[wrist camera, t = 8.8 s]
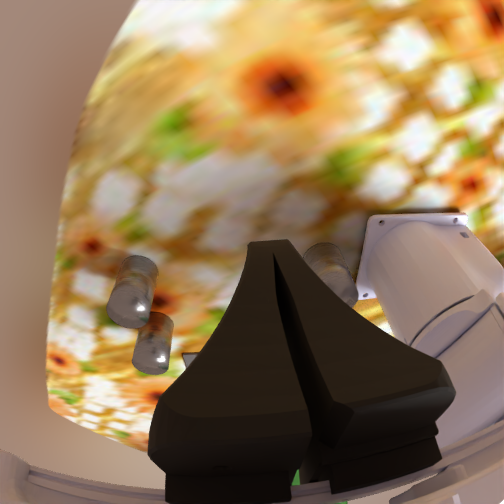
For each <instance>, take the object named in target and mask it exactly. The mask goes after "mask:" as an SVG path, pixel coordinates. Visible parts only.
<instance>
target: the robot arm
mask: <svg viewBox="0 0 504 504" xmlns="http://www.w3.org/2000/svg"><path fill="white" fill-rule="evenodd" d="M454 218H455V219H454ZM381 220H383V221H382V223H379V222H380V221H381ZM467 221H468V216H467V215H466V214H465V213H420V214H387V215H373V216H371V217H370V218H369V219H368V223H367V229H366V234H365V240H364V245H363V250H362V256H361V261H360V266H359V271H358V275H357V280H356V288H357V290H358V293H359V297H358V300H361V299H369V298H377V299H378V301H379V303H380V305H381V308H382V310H383V312H384V314H385V316H386V318H387V320H388V323H389V325H390V327H391V329H392V331H393V334H394V336H395V338H394V337H393V336H391V335H389V334H388V333H386V332H384V331H383V330H381V329H380V328H378V327H377V326H376V325H374V324H373V323H371V322H370V321H368V320H367V319H365V318H364V317H363V316H361V315H360V314H359V313H357V312H356V311H355V310H354V309H352V308H351V307H350V306H349V305H348V304H346V303H345V302H344V301H343V300H342V299H341V298H340V297H339V296H338V295H336V294H335V293H334V292H333V291H332V290H331V289H330V288H329V287H328V286H327V285H326V284H325V283H324V282H323V281H322V280H321V278H320V277H319V276H318V275H317V274H316V273H315V272H314V271H313V270H312V269H311V267H310V266H309V265H308V264H307V263H306V262H305V260H304V259H303V258H302V257H301V255H300V254H299V253H298V252H297V250H296V249H295V248H294V246H293V245H292V244H291V242H290V241H289V240H288V239H286V240H271V241H257V242H250V243H249V244H248V251H247V257H246V262H245V265H244V269H243V272H242V275H241V278H240V281H239V283H238V286H237V288H236V291H235V293H234V295H233V297H232V300H231V302H230V304H229V306H228V308H227V310H226V312H225V314H224V316H223V317H222V319H221V321H220V323H219V324H218V326H217V327H216V329H215V331H214V332H213V334H212V335H211V337H210V338H209V340H208V341H207V343H206V344H205V346H204V347H203V348H202V350H201V351H200V352H199V353H198V355H197V356H196V357H195V358H194V360H193V361H192V362H191V363H190V365H189V366H188V367H187V368H186V370H185V371H184V372H183V373H182V374H181V375H180V376H179V377H178V378H177V379H176V380H175V381H174V383H173V384H172V385H171V386H170V387H169V388H168V389H167V390H166V391H165V392H164V393H163V394H162V395H161V396H160V397H159V400H158V403H157V405H156V408H155V411H154V414H153V418H152V422H151V426H150V431H149V441H148V456H149V457H150V459H151V460H152V461H153V462H154V463H155V464H156V465H157V466H158V467H159V468H160V469H161V470H163V471H164V472H165V473H166V480H165V490H163V489H151V488H141V487H132V486H125V485H117V484H111V483H105V482H99V481H93V480H88V479H83V478H79V477H73V476H70V475H65V474H61V473H57V472H53V471H49V470H46V469H42V468H38V467H35V466H32V465H29V463H28V462H26V461H25V460H23V459H21V458H20V457H18V456H16V455H14V454H12V453H10V452H7V451H4V450H1V449H0V504H336V503H341V502H345V501H349V500H354V499H358V498H362V497H366V496H370V495H374V494H377V493H380V492H384V491H387V490H391V489H394V488H397V487H400V486H403V485H406V484H409V483H412V482H415V481H418V480H421V479H423V478H426V477H429V476H431V475H434V474H436V473H438V474H437V475H436V476H434V477H432V478H429V479H427V480H425V481H423V482H420V483H418V484H416V485H414V486H412V487H411V488H410V489H409V490H408V491H406V492H404V493H402V494H400V495H398V496H396V497H393V498H391V499H390V500H389V504H504V268H503V267H502V265H501V264H500V263H499V262H498V260H497V259H496V258H495V257H494V256H493V255H492V254H491V252H490V251H489V250H488V249H487V248H486V247H485V246H484V245H483V244H482V242H481V241H480V240H479V239H478V238H477V237H476V236H475V235H474V234H473V233H472V232H471V231H470V230H469V229H468V228H467V227H466V224H467ZM364 293H366V294H364ZM298 469H299V479H300V485H294V486H292V482H293V480H294V477H295V474H296V472H297V470H298Z"/></svg>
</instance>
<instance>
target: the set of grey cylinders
mask: <svg viewBox="0 0 504 504" xmlns="http://www.w3.org/2000/svg"><path fill="white" fill-rule="evenodd" d="M303 259H304V260H305V262H306V263H307V264H308V265H309V266H310V267H311V269H312V270H313V271H314V272H315V273H316V274H317V275H318V276H319V277H320V278H321V280H322V281H323V282H324V283H325V284H326V285H327V286H328V287H329V288H330V289H331V290H332V291H333V292H334V293H335V294H336V295H338V296H339V297H340V298H341V299H342V300H343V301H344V302H345V303H346V304H348V305H349V306H350V307H351V308H352V307H353V306H354V305H355V304H356V302H357V301H358V297H359V293H358V290H357V288H356V285H355V283H354V281H353V279H352V276H351V274H350V272H349V270H348V268H347V265H346V263H345V261H344V259H343V257H342V255H341V253H340V250H339V249H338V248H337V247H336V246H335V245H333V244H330V243H320V244H317V245H315V246H313V247H311V248H310V249H309V250H308V251H307V252H306V253H305V255H304V258H303ZM158 275H159V272H158V269H157V267H156V265H155V264H154V263H153V262H152V261H151V260H149V259H148V258H145V257H142V256H132V257H129V258H127V259H126V260H125V261H124V262H123V264H122V266H121V269H120V271H119V274H118V277H117V279H116V282H115V285H114V287H113V290H112V293H111V296H110V298H109V301H108V304H107V308H106V309H107V313H108V315H109V317H110V318H111V319H112V320H113V321H114V322H115V323H117V324H118V325H120V326H123V327H126V328H139V331H138V335H137V340H136V344H135V349H134V354H133V358H132V364H133V365H134V367H135V368H136V369H138V370H139V371H141V372H143V373H146V374H152V375H159V374H163V373H165V372H166V371H167V370H168V367H169V358H170V350H171V342H172V335H173V327H174V324H173V321H172V320H171V319H170V318H169V317H168V316H166V315H165V314H162V313H158V312H150V310H151V306H152V301H153V297H154V292H155V288H156V284H157V280H158Z"/></svg>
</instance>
